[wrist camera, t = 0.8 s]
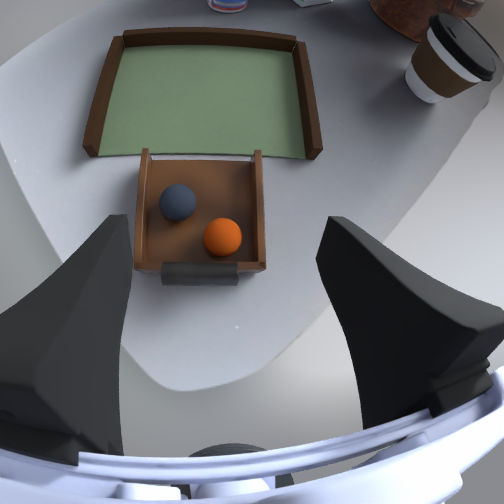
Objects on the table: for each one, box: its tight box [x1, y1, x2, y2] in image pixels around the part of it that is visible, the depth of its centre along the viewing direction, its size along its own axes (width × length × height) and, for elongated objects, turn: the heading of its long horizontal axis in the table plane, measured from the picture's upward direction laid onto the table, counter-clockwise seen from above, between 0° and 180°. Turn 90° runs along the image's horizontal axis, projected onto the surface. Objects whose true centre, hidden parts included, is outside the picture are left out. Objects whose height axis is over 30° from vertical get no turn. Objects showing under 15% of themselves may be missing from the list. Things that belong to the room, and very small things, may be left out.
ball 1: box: [159, 184, 196, 221], centre depth 24 cm, size 3×3×3 cm
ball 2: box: [203, 218, 242, 256], centre depth 24 cm, size 3×3×3 cm
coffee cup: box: [405, 13, 496, 103], centre depth 29 cm, size 11×11×12 cm
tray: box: [134, 148, 266, 286], centre depth 23 cm, size 11×10×6 cm
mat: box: [82, 27, 323, 160], centre depth 28 cm, size 16×22×2 cm
